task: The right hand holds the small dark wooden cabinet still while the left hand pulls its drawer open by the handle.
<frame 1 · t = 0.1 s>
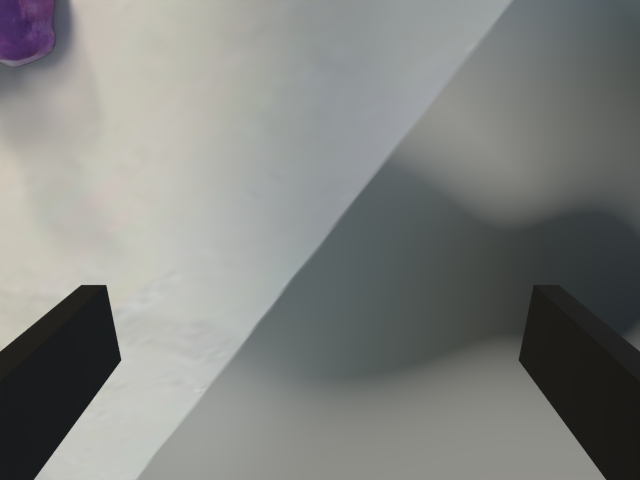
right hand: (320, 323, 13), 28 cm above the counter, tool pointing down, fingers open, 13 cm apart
figurine: (10, 22, 35), on the counter
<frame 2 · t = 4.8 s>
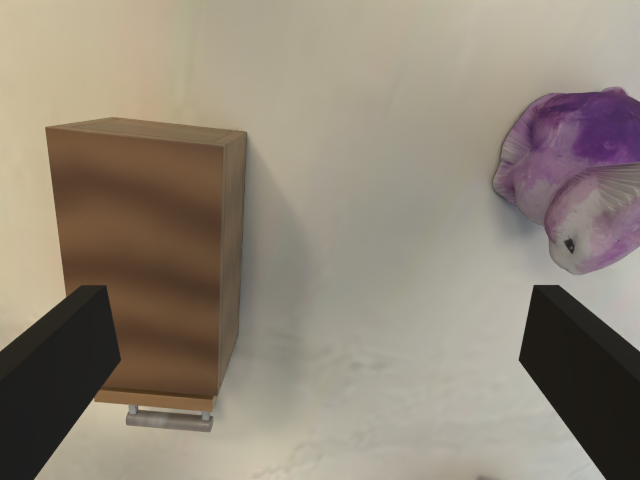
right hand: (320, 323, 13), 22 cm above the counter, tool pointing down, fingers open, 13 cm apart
cabinet: (181, 236, 36), on the counter
drawer: (166, 320, 34), point 4 cm above the counter, slide at 1.3 cm
figurine: (545, 158, 33), on the counter
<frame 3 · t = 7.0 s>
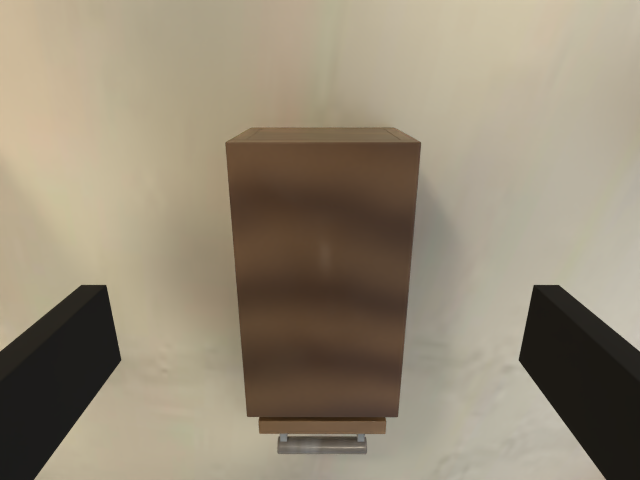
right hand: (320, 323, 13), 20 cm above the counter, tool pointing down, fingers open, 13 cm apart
cabinet: (322, 247, 33), on the counter
drawer: (322, 339, 31), point 4 cm above the counter, slide at 1.3 cm
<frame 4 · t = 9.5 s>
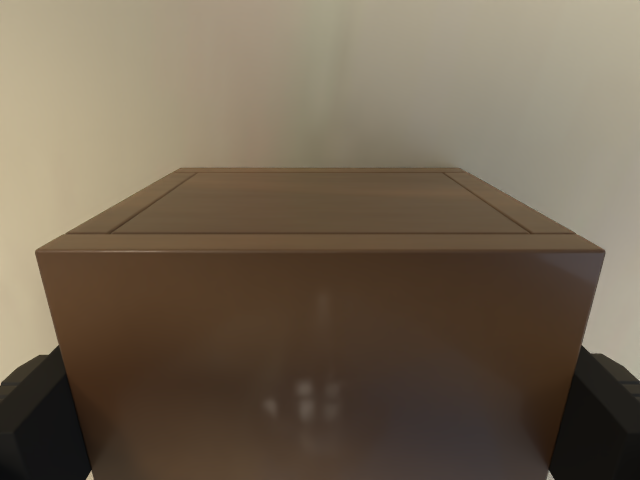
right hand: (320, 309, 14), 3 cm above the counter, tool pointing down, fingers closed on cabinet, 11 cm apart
cabinet: (319, 374, 19), on the counter, touching right hand
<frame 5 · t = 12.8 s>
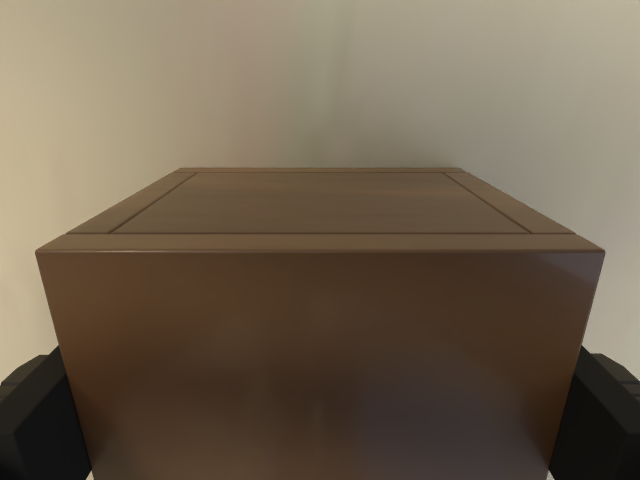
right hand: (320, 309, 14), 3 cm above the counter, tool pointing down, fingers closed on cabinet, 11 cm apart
cabinet: (319, 374, 19), on the counter, touching right hand
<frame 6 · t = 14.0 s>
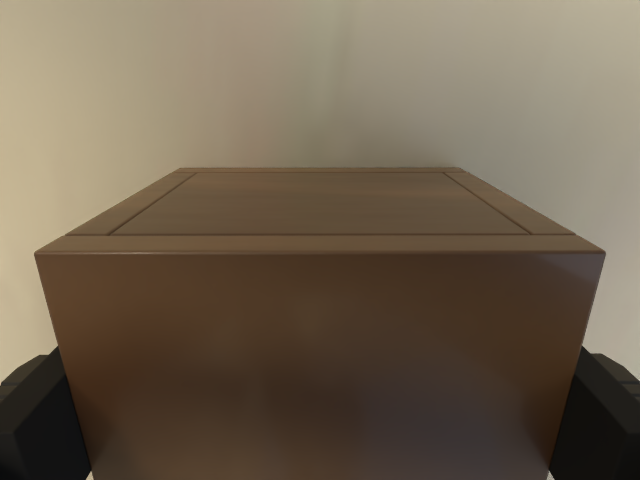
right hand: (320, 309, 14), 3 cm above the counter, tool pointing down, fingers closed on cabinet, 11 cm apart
cabinet: (319, 374, 19), on the counter, touching right hand
when the right hand's fingers open (3 cm above the counter, at t = 15.9 s): cabinet stays where it is, on the counter.
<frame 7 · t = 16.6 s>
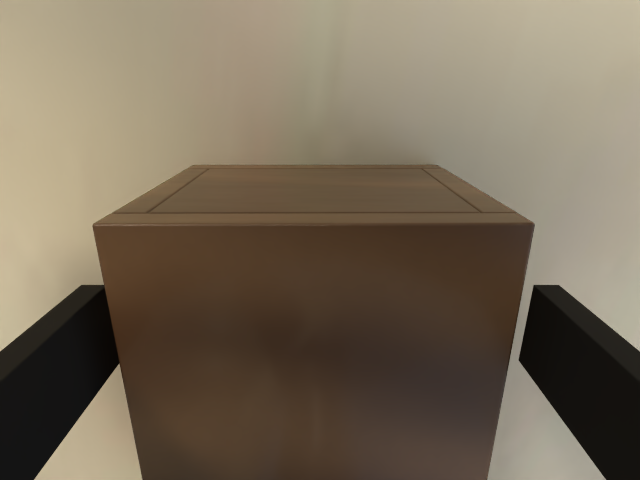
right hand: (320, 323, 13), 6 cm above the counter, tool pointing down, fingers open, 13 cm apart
cabinet: (316, 351, 21), on the counter
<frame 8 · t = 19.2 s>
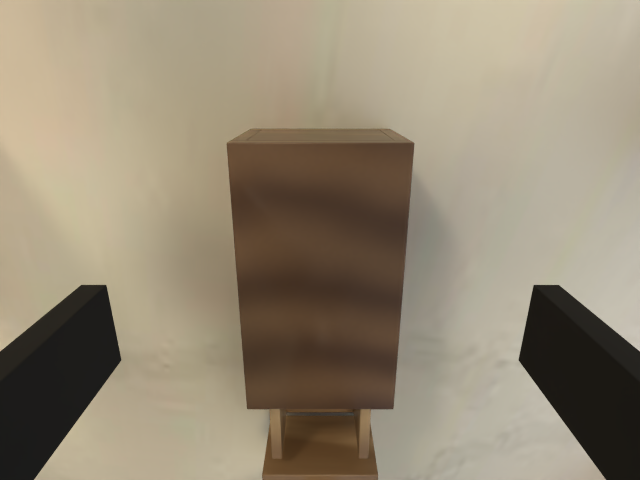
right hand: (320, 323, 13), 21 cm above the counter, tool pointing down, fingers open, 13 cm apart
cabinet: (320, 245, 34), on the counter
drawer: (320, 398, 34), point 4 cm above the counter, slide at 7.5 cm
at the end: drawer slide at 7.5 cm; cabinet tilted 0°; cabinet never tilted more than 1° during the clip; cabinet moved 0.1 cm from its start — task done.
